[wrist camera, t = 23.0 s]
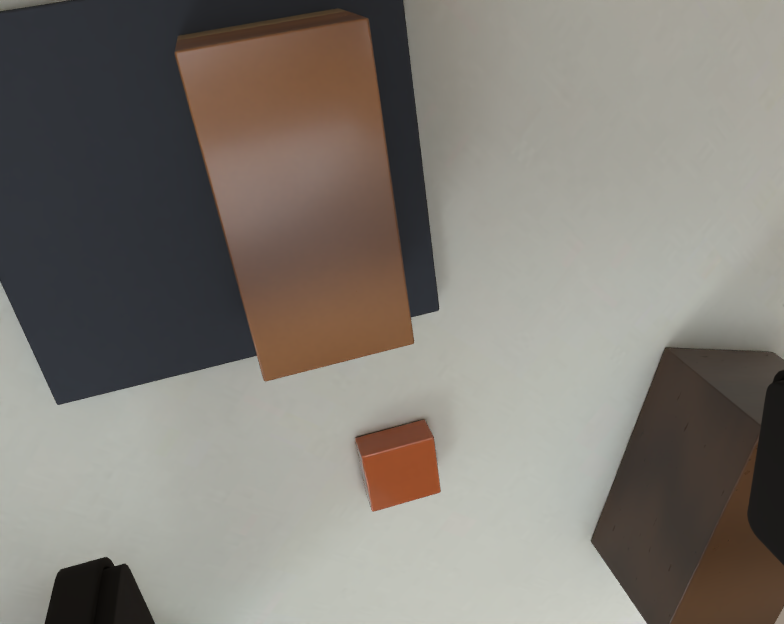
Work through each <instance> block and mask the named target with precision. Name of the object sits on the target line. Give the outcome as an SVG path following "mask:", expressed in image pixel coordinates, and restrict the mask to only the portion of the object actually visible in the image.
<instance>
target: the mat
mask: <svg viewBox="0 0 784 624" xmlns="http://www.w3.org/2000/svg"><path fill="white" fill-rule="evenodd" d="M337 8H339V9H342V10H345V11H348V12H351V13H354V14H357V15H360V16H363V17H366V18H368V19H369V24H370V31H371V39H372V46H373V53H374V60H375V67H376V74H377V81H378V88H379V95H380V103H381V110H382V117H383V124H384V131H385V138H386V145H387V152H388V159H389V166H390V174H391V181H392V188H393V195H394V202H395V209H396V216H397V223H398V230H399V237H400V245H401V252H402V259H403V266H404V273H405V280H406V287H407V294H408V301H409V309H410V316H411V317H414V316H418V315H422V314H426V313H430V312H434V311H438V310H439V303H438V294H437V286H436V277H435V269H434V260H433V252H432V243H431V235H430V226H429V217H428V209H427V200H426V192H425V183H424V175H423V166H422V158H421V149H420V141H419V132H418V123H417V115H416V106H415V98H414V89H413V81H412V72H411V64H410V55H409V47H408V38H407V29H406V21H405V12H404V4H403V0H69V1H63V2H56V3H50V4H44V5H38V6H31V7H25V8H19V9H13V10H6V11H0V281H1V283H2V286H3V288H4V290H5V292H6V294H7V296H8V299H9V301H10V303H11V305H12V307H13V310H14V312H15V314H16V316H17V318H18V320H19V323H20V325H21V327H22V329H23V331H24V333H25V336H26V338H27V340H28V342H29V344H30V347H31V349H32V351H33V353H34V355H35V357H36V360H37V362H38V364H39V366H40V368H41V371H42V373H43V375H44V377H45V379H46V381H47V384H48V386H49V388H50V390H51V392H52V394H53V397H54V399H55V401H56V403H57V405H60V404H64V403H68V402H72V401H76V400H80V399H84V398H88V397H92V396H96V395H100V394H104V393H108V392H112V391H116V390H121V389H125V388H129V387H133V386H137V385H141V384H145V383H149V382H153V381H157V380H161V379H165V378H169V377H173V376H177V375H181V374H185V373H189V372H193V371H197V370H201V369H205V368H209V367H213V366H217V365H221V364H225V363H229V362H233V361H237V360H241V359H245V358H249V357H253V356H257V354H256V350H255V347H254V343H253V339H252V336H251V332H250V328H249V325H248V321H247V317H246V314H245V310H244V306H243V303H242V299H241V295H240V292H239V288H238V284H237V281H236V277H235V273H234V270H233V266H232V262H231V259H230V255H229V252H228V248H227V244H226V241H225V237H224V233H223V230H222V226H221V222H220V219H219V215H218V211H217V208H216V204H215V200H214V197H213V193H212V189H211V186H210V182H209V178H208V175H207V171H206V167H205V164H204V160H203V156H202V153H201V149H200V146H199V142H198V138H197V135H196V131H195V127H194V124H193V120H192V116H191V113H190V109H189V105H188V102H187V98H186V94H185V91H184V87H183V83H182V80H181V76H180V72H179V69H178V65H177V61H176V58H175V48H176V43H177V38H178V36H179V35H185V34H191V33H197V32H203V31H209V30H214V29H220V28H226V27H232V26H238V25H243V24H249V23H255V22H261V21H267V20H273V19H278V18H284V17H290V16H296V15H302V14H307V13H313V12H319V11H325V10H331V9H337Z"/></svg>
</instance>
